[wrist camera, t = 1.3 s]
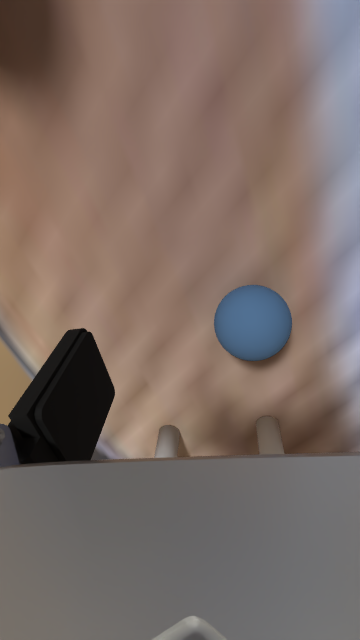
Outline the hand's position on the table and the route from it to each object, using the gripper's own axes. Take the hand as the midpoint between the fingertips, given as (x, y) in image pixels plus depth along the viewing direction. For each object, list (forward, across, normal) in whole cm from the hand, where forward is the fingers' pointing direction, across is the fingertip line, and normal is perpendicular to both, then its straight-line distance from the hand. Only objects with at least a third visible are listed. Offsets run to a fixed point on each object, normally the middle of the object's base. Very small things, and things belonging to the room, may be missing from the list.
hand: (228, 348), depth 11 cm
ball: (+14, -1, +8) cm, 16 cm away
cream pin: (+17, -1, +23) cm, 29 cm away
